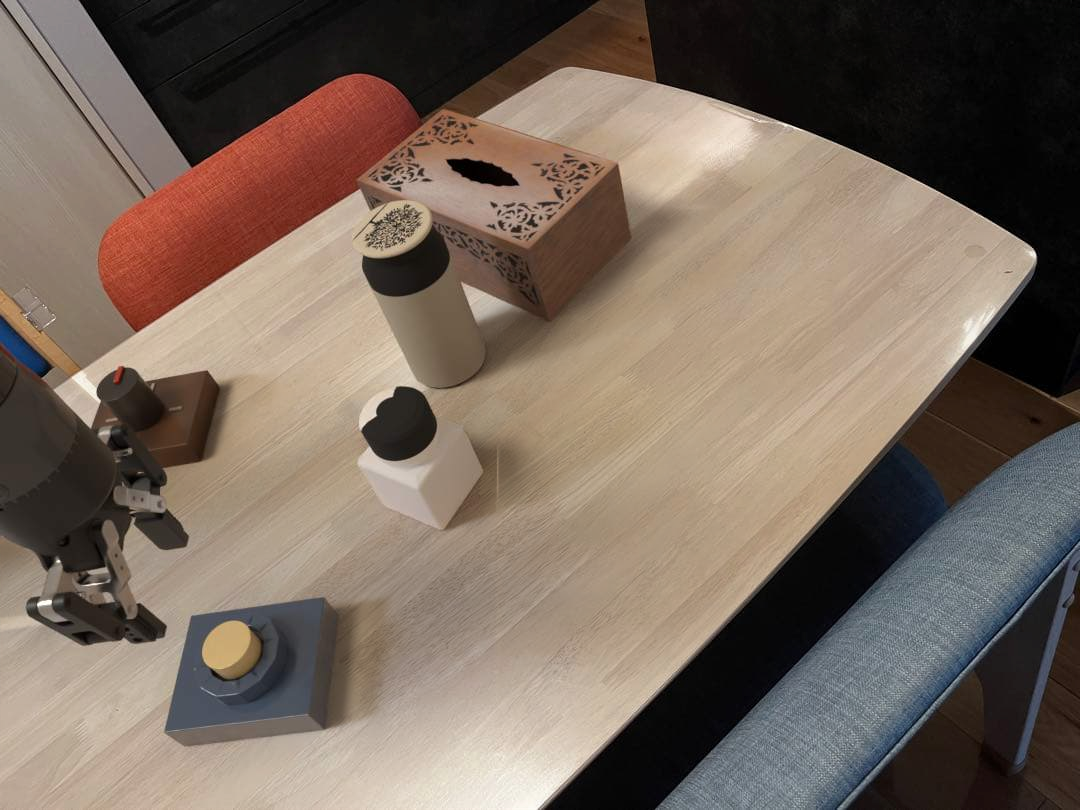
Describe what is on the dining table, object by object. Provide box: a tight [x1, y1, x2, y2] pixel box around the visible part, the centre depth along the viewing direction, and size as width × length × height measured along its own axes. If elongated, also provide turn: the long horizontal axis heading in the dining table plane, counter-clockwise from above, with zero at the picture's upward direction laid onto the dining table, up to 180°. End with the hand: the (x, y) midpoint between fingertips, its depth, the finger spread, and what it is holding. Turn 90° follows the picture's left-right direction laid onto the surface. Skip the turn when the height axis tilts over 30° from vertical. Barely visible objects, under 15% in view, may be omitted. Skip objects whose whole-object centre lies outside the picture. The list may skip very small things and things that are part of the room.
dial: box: [95, 365, 164, 431], centre depth 93 cm, size 4×4×5 cm
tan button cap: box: [202, 621, 262, 679], centre depth 71 cm, size 4×4×2 cm
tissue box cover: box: [356, 107, 632, 322], centre depth 101 cm, size 26×14×10 cm, turn 50°
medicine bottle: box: [357, 385, 484, 531], centre depth 80 cm, size 7×7×12 cm
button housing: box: [163, 596, 339, 747], centre depth 74 cm, size 12×10×5 cm
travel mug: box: [351, 200, 487, 389], centre depth 88 cm, size 8×8×18 cm
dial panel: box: [90, 369, 221, 473], centre depth 96 cm, size 12×10×3 cm
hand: (165, 588), depth 64 cm, fingers open, 6 cm apart
